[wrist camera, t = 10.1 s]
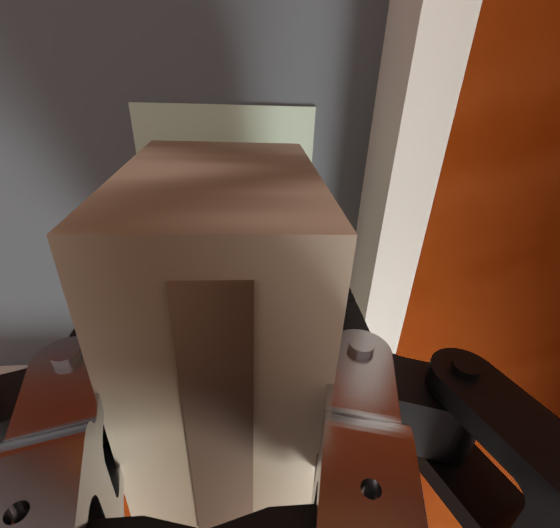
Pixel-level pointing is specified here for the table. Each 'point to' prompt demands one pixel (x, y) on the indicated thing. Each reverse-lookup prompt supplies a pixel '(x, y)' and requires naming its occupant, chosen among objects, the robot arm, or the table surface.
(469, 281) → the table surface
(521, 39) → the table surface
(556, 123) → the table surface
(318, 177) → the birch block
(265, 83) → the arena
